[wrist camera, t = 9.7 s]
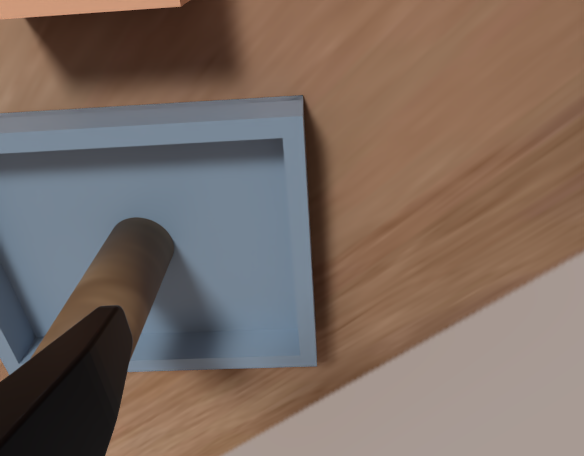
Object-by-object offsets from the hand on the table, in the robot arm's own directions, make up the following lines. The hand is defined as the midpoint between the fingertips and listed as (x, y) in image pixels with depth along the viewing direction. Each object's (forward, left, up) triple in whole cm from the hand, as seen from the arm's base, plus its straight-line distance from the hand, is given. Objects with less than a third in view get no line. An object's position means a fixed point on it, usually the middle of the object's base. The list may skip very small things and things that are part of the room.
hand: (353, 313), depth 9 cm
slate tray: (+9, +6, -12) cm, 17 cm away
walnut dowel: (+9, +6, -12) cm, 16 cm away
